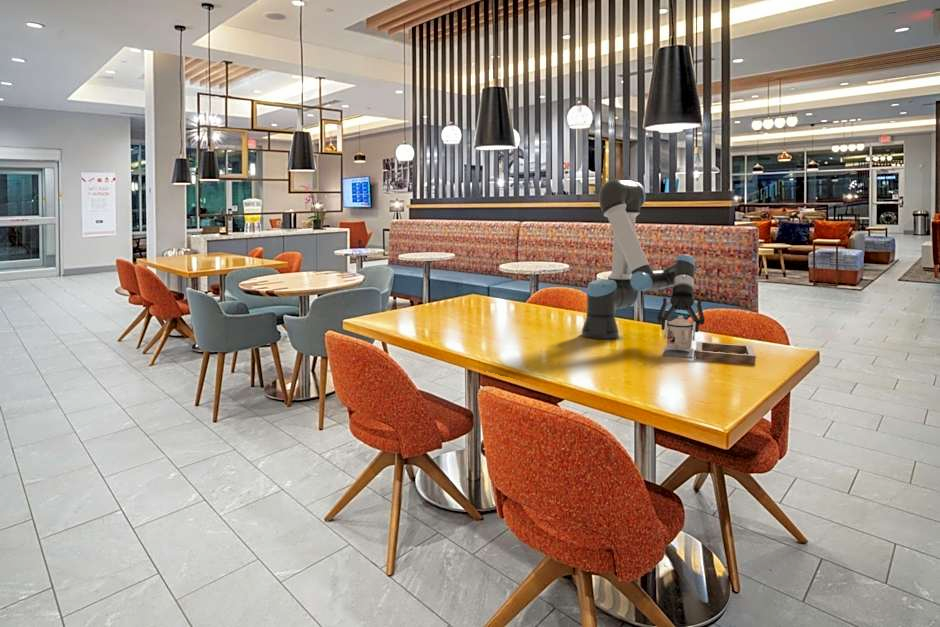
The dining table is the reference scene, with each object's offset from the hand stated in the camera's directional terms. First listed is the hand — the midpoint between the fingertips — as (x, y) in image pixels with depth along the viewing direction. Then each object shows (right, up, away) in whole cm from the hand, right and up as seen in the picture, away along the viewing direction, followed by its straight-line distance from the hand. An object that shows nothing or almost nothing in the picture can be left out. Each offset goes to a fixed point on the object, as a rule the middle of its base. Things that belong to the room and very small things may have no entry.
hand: (679, 337), depth 212 cm
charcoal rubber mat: (+1, -6, +4) cm, 7 cm away
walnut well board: (+15, -7, -2) cm, 17 cm away
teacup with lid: (+2, -4, +3) cm, 6 cm away
